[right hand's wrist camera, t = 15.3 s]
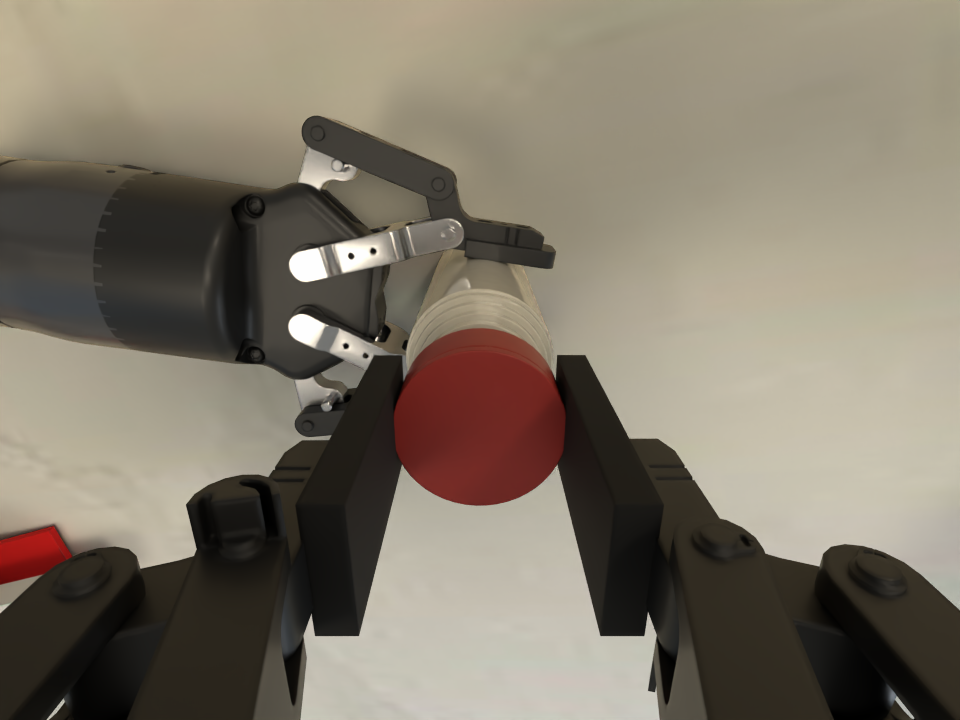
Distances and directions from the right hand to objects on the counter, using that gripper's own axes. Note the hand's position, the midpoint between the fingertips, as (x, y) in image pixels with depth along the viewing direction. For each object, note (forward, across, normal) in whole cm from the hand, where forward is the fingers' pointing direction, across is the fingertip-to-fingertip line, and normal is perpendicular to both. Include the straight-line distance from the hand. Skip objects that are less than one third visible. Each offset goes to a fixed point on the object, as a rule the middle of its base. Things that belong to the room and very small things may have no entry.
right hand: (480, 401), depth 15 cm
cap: (-2, 0, 0) cm, 2 cm away
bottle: (+16, 0, 0) cm, 16 cm away
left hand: (+9, -3, 0) cm, 10 cm away
